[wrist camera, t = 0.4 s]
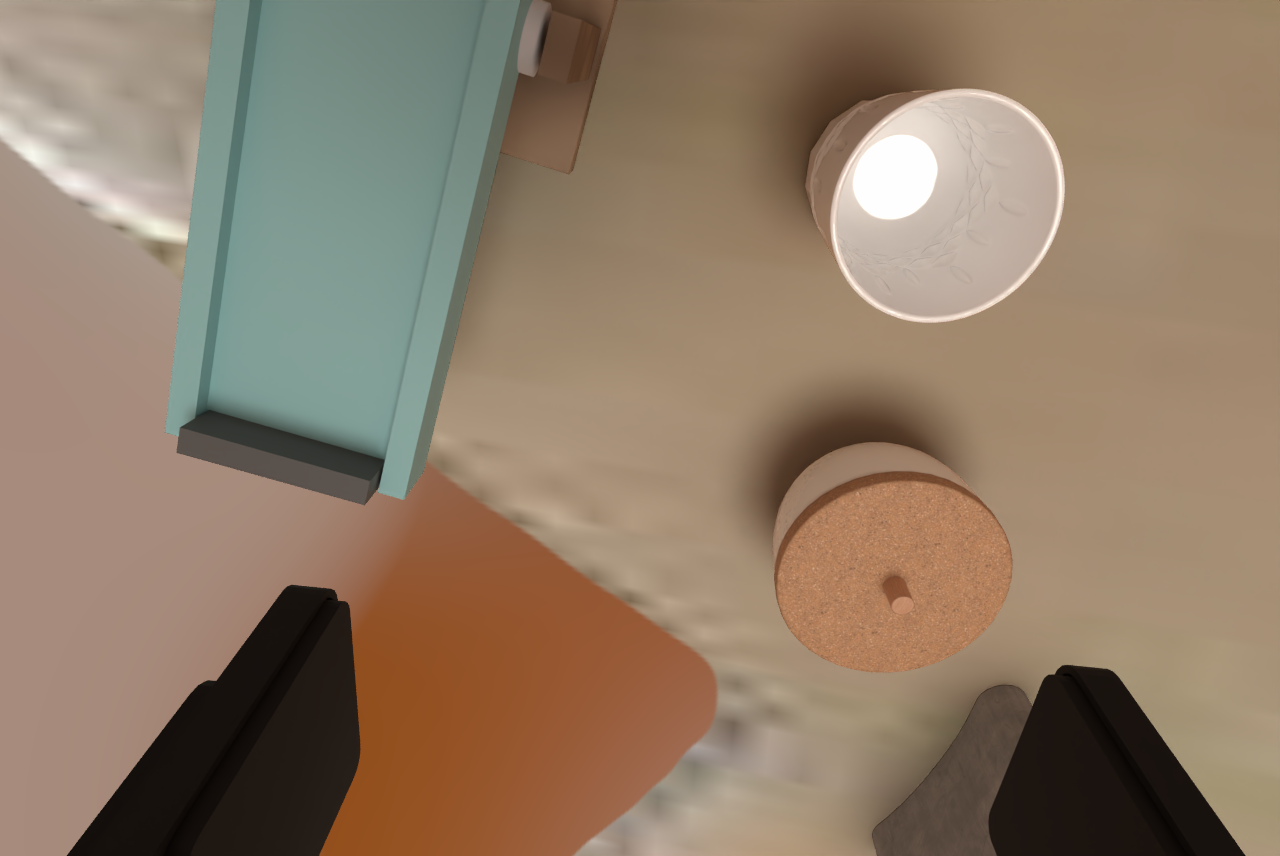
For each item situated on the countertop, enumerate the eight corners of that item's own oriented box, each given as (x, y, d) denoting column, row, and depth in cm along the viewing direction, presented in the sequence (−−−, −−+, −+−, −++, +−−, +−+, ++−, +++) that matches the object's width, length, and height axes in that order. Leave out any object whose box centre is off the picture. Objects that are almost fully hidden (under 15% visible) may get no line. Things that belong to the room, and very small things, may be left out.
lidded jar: (727, 542, 45) (740, 654, 37) (815, 379, 41) (853, 463, 32) (895, 604, 46) (945, 727, 38) (997, 453, 42) (1079, 553, 34)
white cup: (969, 69, 34) (1075, 70, 25) (964, 249, 38) (1056, 308, 29) (786, 96, 35) (825, 108, 26) (797, 271, 38) (834, 335, 29)
